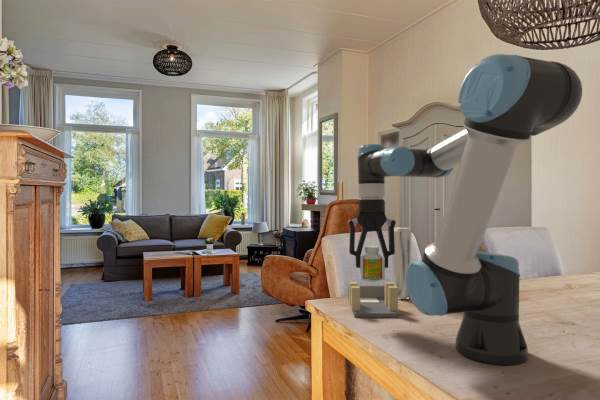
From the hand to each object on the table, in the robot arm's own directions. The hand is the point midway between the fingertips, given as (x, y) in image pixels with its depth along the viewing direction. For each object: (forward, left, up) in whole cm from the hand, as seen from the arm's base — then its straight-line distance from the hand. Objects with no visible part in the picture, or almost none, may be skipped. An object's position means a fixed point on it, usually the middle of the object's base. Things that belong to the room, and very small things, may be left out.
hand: (371, 278), depth 118 cm
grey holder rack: (+14, -2, -12) cm, 19 cm away
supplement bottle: (0, 0, -1) cm, 1 cm away
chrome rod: (+28, -15, -13) cm, 34 cm away
